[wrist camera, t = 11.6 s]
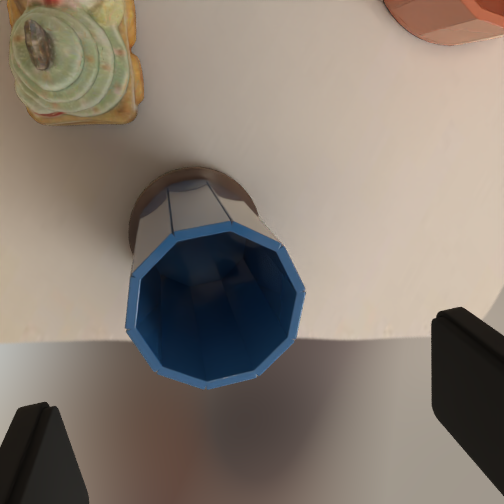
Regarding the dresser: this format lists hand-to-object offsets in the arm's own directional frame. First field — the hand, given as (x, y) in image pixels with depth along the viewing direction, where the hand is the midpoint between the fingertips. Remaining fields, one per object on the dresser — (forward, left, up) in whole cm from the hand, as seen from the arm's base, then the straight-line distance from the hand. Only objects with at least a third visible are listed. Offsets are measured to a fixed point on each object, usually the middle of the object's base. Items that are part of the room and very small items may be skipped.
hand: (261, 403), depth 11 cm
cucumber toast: (-11, -4, -19) cm, 22 cm away
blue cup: (+1, 0, -18) cm, 18 cm away
